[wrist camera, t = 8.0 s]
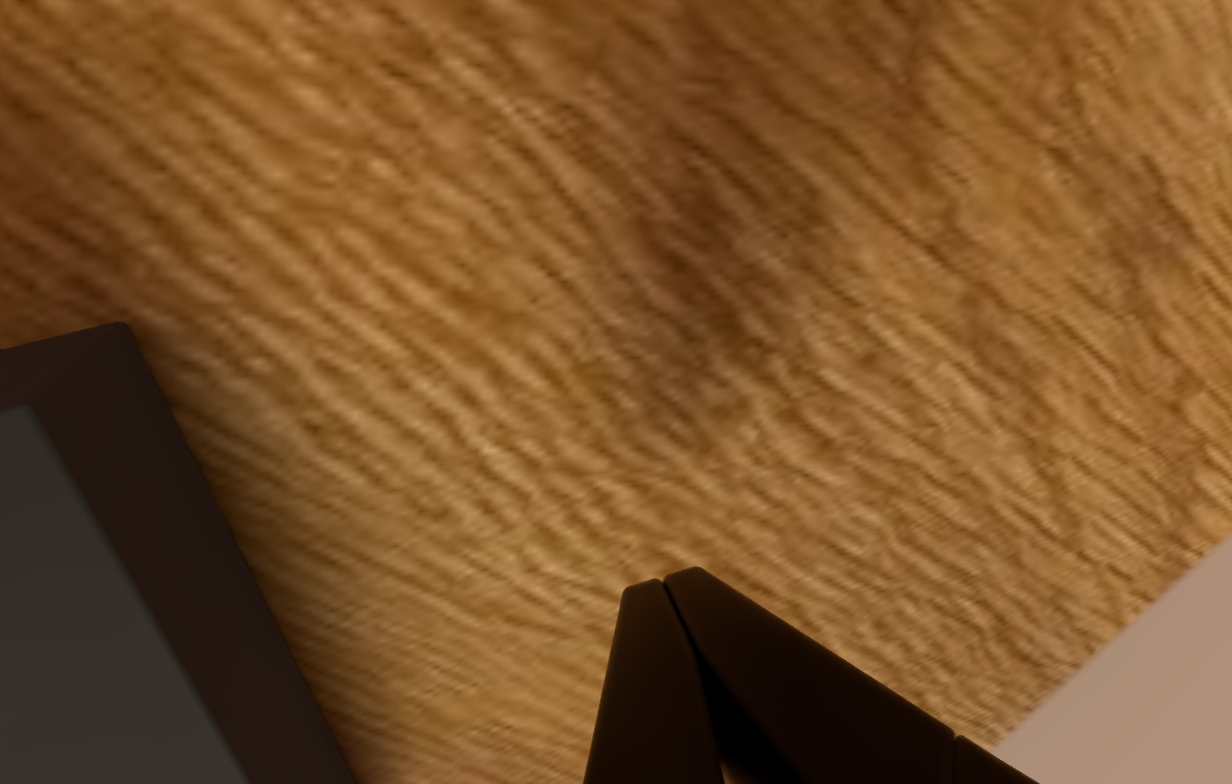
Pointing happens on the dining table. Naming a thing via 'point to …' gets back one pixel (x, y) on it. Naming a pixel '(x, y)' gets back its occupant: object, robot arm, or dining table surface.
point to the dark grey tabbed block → (131, 593)
